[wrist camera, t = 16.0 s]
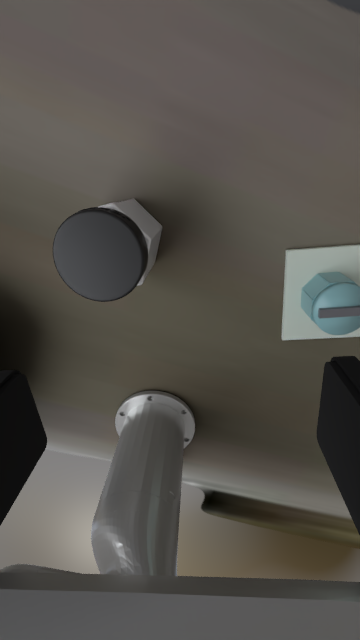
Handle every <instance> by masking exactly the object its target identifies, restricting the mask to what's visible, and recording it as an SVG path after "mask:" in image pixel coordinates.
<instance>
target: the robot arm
mask: <svg viewBox="0 0 360 640" xmlns="http://www.w3.org/2000/svg"><path fill="white" fill-rule="evenodd" d="M115 426H116V431H117V433H118V435H119V437H120V438H119V441H118V444H117V447H116V450H115V453H114V456H113V459H112V463H111V466H110V469H109V472H108V475H107V479H106V481H105V485H104V488H103V491H102V494H101V497H100V500H99V503H98V507H97V510H96V513H95V516H94V519H93V524H92V532H91V539H92V547H93V552H94V556H95V560H96V563H97V566H98V568H99V571H100V574H80V573H75V572H70V571H64V570H59V569H53V568H48V567H41V566H36V565H28V564H15V565H10V566H7V567H5V568H3V569H1V570H0V640H360V582H344V581H322V580H298V579H264V578H226V577H193V576H177V548H178V547H177V546H178V530H179V513H180V497H181V482H182V467H183V452H184V448H185V447H186V446H187V445H188V444H189V443H190V442H191V440H192V438H193V436H194V433H195V419H194V416H193V413H192V411H191V410H190V408H189V407H188V406H187V405H186V403H185V402H183V401H182V400H181V399H179V398H178V397H176V396H174V395H172V394H169V393H166V392H161V391H143V392H139V393H136V394H134V395H132V396H130V397H128V398H127V399H126V400H125V401H124V402H123V403H122V404H121V405H120V407H119V409H118V412H117V414H116V418H115ZM317 440H318V443H319V446H320V448H321V450H322V453H323V455H324V457H325V459H326V461H327V464H328V466H329V468H330V470H331V472H332V475H333V477H334V479H335V481H336V484H337V486H338V488H339V490H340V492H341V495H342V497H343V499H344V501H345V504H346V506H347V508H348V510H349V512H350V515H351V517H352V519H353V521H354V523H355V526H356V528H357V530H358V532H359V535H360V361H359V360H358V359H357V358H356V357H355V356H342V357H333V358H332V359H331V362H326V363H325V367H324V375H323V383H322V392H321V400H320V408H319V417H318V425H317ZM46 445H47V437H46V434H45V431H44V428H43V425H42V422H41V419H40V416H39V413H38V410H37V407H36V404H35V401H34V398H33V395H32V393H31V390H30V387H29V384H28V381H27V378H26V376H25V375H23V374H21V372H20V371H18V370H4V371H0V525H1V524H2V522H3V520H4V518H5V517H6V515H7V513H8V512H9V510H10V508H11V506H12V505H13V503H14V501H15V500H16V498H17V496H18V495H19V493H20V491H21V489H22V488H23V486H24V484H25V482H26V481H27V479H28V477H29V476H30V474H31V472H32V471H33V469H34V467H35V465H36V463H37V462H38V460H39V459H40V457H41V455H42V454H43V452H44V450H45V448H46Z"/></svg>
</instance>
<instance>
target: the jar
mask: <svg viewBox="0 0 360 640" xmlns="http://www.w3.org/2000/svg"><path fill="white" fill-rule="evenodd" d="M161 232H162V225H161V224H160V223H159V222H158V221H157V220H155V219H154V218H153V217H152V216H151V215H150V214H149V213H148V212H147V211H146V210H145V209H144V208H143V207H142V206H141V205H140V204H139V203H138V202H137V201H136V200H135V199H129V200H125V201H120V202H112V203H108V204H105V205H102V206H99V207H94V208H87V209H83V210H81V211H78V212H77V213H75V214H73V215H71V216H70V217H68V218H67V219H66V220H65V221H64V222H63V223H62V224H61V226H60V227H59V229H58V231H57V233H56V235H55V238H54V242H53V258H54V262H55V266H56V268H57V271H58V273H59V275H60V276H61V278H62V279H63V281H64V282H65V283H66V284H67V285H68V286H69V287H70V288H71V289H72V290H73V291H74V292H76V293H77V294H79V295H81V296H83V297H85V298H87V299H90V300H94V301H101V302H107V301H114V300H117V299H120V298H122V297H124V296H126V295H127V294H129V293H130V292H131V291H132V290H133V289H134V288H135V287H136V286H138V285H142V284H143V282H144V280H145V279H146V277H147V275H148V273H149V272H150V270H151V268H152V267H153V265H154V263H155V260H156V256H157V251H158V246H159V241H160V237H161Z"/></svg>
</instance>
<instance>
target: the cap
mask: <svg viewBox="0 0 360 640" xmlns="http://www.w3.org/2000/svg"><path fill="white" fill-rule="evenodd" d="M301 308H302V309H303V310H304V311H305V313H306V314H307V315H308V316H309V318H310V319H311V320H312V321H313V322H314V323H315V324H317V325H318V327H319V328H320V329H321V330H322V331H324V332H326V333H328V334H331V335H345V334H348V333H351V332H353V331H355V330H357V329H358V328H360V287H359V286H358V285H357V284H356V283H355V282H354V281H352V280H351V279H349V278H348V277H346V276H345V275H343V274H342V273H340V272H327V273H318V274H316V275H315V276H314V277H313V278H312V279H311V280H310V281H309V282H308V283H307V284H306V285H305V286H304V287H302V292H301Z"/></svg>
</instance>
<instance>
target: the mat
mask: <svg viewBox="0 0 360 640" xmlns="http://www.w3.org/2000/svg"><path fill="white" fill-rule="evenodd" d="M327 272H340V273H342V274H343V275H345V276H346V277H348V278H349V279H351V280H352V281H354V282H355V283H356V284H357V285H358V286H359V287H360V244H357V245H344V246H330V247H316V248H303V249H289V250H286V258H285V278H284V297H283V317H282V337H281V338H282V340H298V339H319V338H341V337H360V328H358V329H357V330H355V331H353V332H351V333H348V334H345V335H331V334H328V333H326V332H324V331H322V330H321V329H320V328H319V327H318V325H317V324H315V323H314V322H313V321H312V320H311V319H310V318H309V316H308V315H307V314H306V313H305V311H304V310H303V309H302V308H301V292H302V287H304V286H305V285H306V284H307V283H308V282H309V281H310V280H311V279H312V278H313V277H314V276H315V275H316V274H318V273H327Z"/></svg>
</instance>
